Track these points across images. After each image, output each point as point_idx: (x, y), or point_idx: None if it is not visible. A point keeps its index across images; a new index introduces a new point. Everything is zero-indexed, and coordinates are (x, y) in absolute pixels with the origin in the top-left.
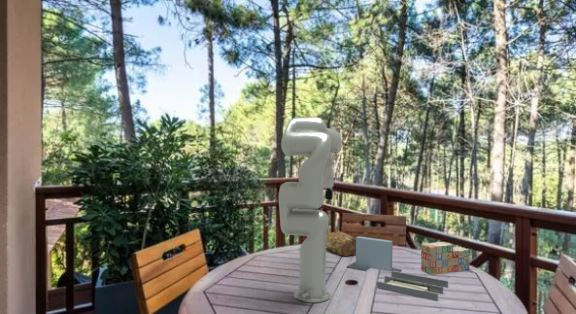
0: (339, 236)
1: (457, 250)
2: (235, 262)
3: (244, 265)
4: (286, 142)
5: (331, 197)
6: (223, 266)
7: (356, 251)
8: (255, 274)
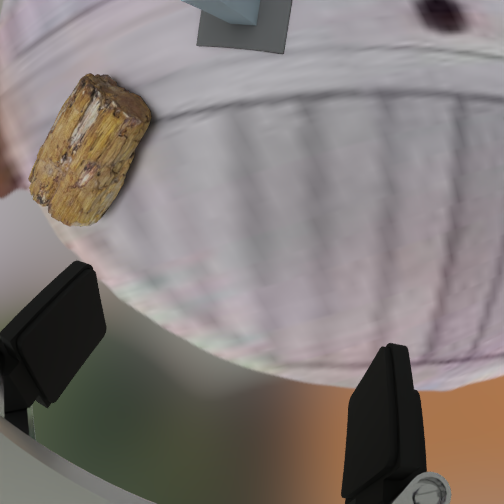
0: (78, 164)
1: None
2: None
3: None
4: None
5: (73, 278)
6: None
7: (241, 12)
8: (454, 312)
